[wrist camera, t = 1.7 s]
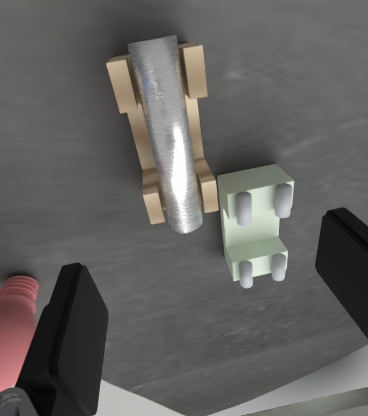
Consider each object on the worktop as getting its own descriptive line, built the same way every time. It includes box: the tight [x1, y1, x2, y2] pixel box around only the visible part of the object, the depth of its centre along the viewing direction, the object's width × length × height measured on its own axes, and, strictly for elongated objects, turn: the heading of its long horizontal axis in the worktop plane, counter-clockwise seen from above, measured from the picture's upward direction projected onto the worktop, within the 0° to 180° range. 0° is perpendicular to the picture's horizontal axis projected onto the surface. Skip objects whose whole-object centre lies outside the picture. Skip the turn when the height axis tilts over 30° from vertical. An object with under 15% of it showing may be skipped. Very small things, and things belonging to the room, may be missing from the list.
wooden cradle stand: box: [106, 43, 219, 224], centre depth 22 cm, size 12×6×6 cm, turn 9°
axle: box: [127, 35, 203, 233], centre depth 20 cm, size 14×3×3 cm, turn 9°
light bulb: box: [0, 276, 39, 392], centre depth 27 cm, size 7×7×12 cm
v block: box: [217, 164, 294, 288], centre depth 29 cm, size 12×6×5 cm, turn 9°
